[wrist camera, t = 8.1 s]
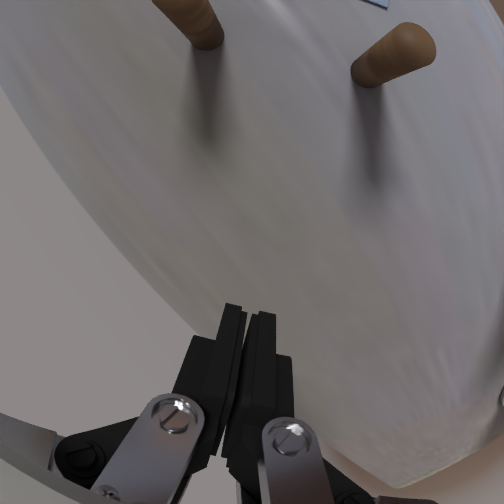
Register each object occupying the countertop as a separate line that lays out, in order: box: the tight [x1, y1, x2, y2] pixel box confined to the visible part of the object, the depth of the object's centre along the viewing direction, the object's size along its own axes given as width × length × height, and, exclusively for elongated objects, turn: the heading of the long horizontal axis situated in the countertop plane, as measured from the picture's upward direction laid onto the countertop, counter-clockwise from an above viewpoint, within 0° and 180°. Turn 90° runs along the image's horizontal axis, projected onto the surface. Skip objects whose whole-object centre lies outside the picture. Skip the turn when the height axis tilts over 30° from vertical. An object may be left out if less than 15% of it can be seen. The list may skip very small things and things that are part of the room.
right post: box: [351, 22, 436, 88], centre depth 15 cm, size 3×3×9 cm
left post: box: [152, 0, 224, 50], centre depth 15 cm, size 3×3×9 cm
